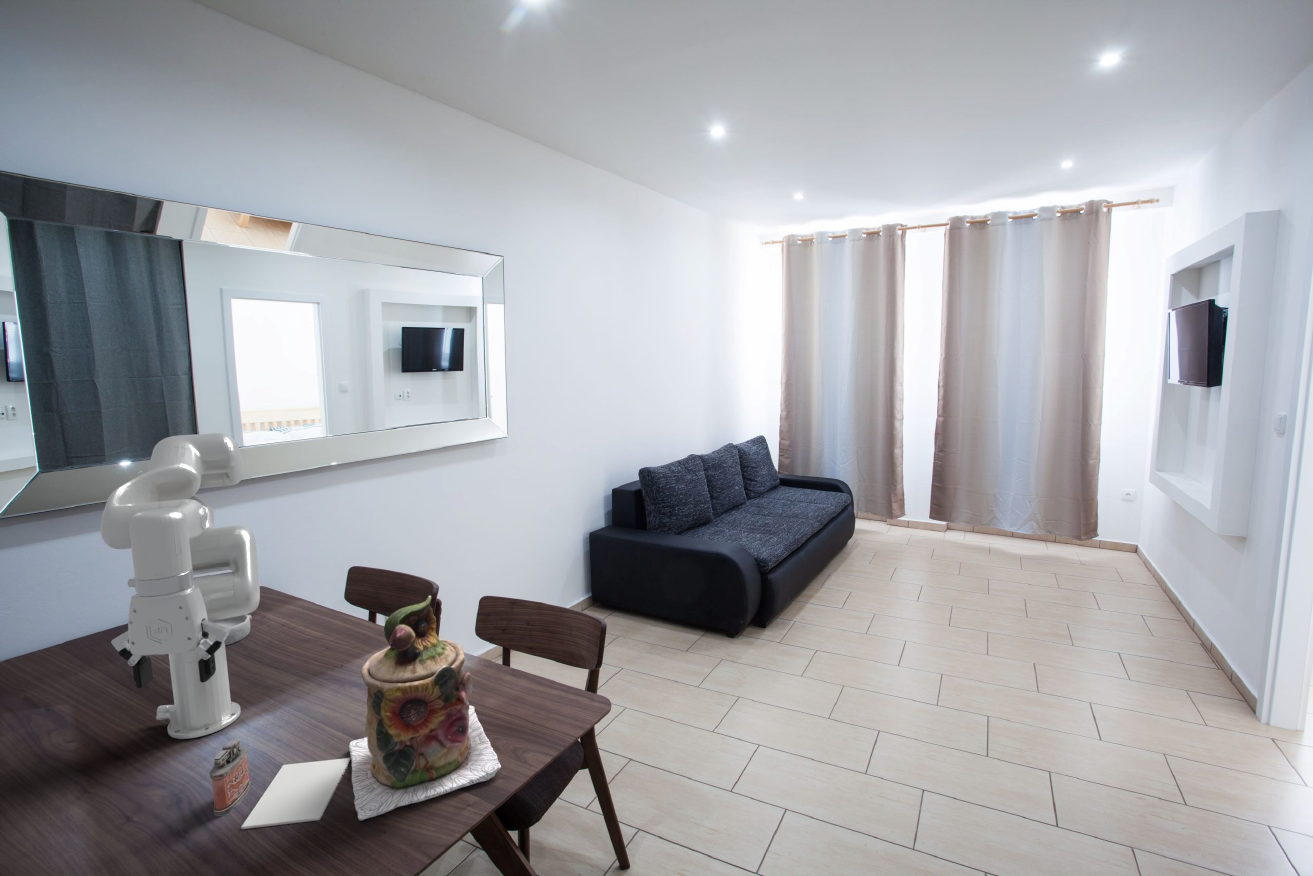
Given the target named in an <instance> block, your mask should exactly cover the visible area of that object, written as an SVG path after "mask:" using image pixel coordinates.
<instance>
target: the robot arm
mask: <svg viewBox="0 0 1313 876" xmlns="http://www.w3.org/2000/svg"><path fill="white" fill-rule="evenodd" d="M240 450H241V449H240V447H239V444H238V443H237V441H236V440H235V439H234V438H233V437H232V436H230V435H229V434H227V433H223V432H222V433H221V432H217V433H216V432H215V433H214V432H213V433H200V434H199V433H197V434H180V435H172V436H168V437H165V438H163V439H161V440H160V441H158V442H157V443H156V444H155V446H154V447H153V450H152V453H151V455H150V456H151V457H150V460H149V462H148V463H147V466H146V472H144V473H142V474H139V475H138V476H136V477H134V478H133V479H130V480H129V481H126V482H125V483H122V484H121V485H119V486H118V487H117V488H116V489H114V490H113V491H112V492H111V493H110V495H109V496H108V498H107V499H106V500H107V501H106V504H105V506H104V509H103V511H102V516H101V520H100V534H101V538H102V540H103V543H104V544H106V545H107V547H109V548H112V549H116V550H129V549H131V556H132V566H133V572H134V578H129V579H128V581H127V586H128V588H135V589H134V590H135V593H136V594H134V595H132V596H131V598H130V604H129V610H128V619H127V620H128V621H127V622H128V623H127V624H128V625H127V628H128V629H127V631H125V632H123V633H121V634H120V635H118V636H117V637H115V638H112V640H111V641H110V643H111V645H112V646H113V648H114V649H115V650H116V651H117V652H118V655H119V656H120V657H121V658H123V659H124V660H126V661H127V664H128V665H129V667H130V666H131V667H132V671H133V679H134V682H135V685H136V688H137V689H142V688H144V687H145V686H146V685H147V684H149V683H150V682H151V681H153V678H154V676H153V666H152V660H151V658H150V656H161V655H162V656H163V655H168V660H169V670H170V678H171V686H172V693H173V694H172V695H173V701H174V702H173V704H164V705H159V706H158V707H157V709H156V717H155V718H156V719H155V720H156V721H162V720H163V721H164V720H169V721H170V722H169V723H168V726H167V733H168V734H167V735H168V736H170V737H171V738H174V739H178V740H186V739H187V740H188V739H195V738H199V737H203V736H204V737H205V736H208V735H210V734H213V733H215V732H218V731H221V730H222V729H225V728H226V727H228V726H230V725H231V724H232V723H234V722H235V721H236V720H237V719H238V718H239V716H240V715H241V712H242V711H241V706H240V704H239V703H237V702H236V701H235V702H234V701H231V700H232V699H231V692H230V691H231V690H230V689H231V688H230V680H229V671H228V662H227V660H228V659H227V654H226V645H225V639H226V638H227V636H228V633H229V631H230V630H229V629H228V628H226V627H223V626H221V625H218V624H215V623H213V622H211V621H215V620H220V619H226V618H231V617H236V616H241V615H245V614H246V615H250V614H251V613H253V612H255V611H256V610H257V608H258V606H259V604H260V599H261V595H260V594H261V589H260V587H261V586H260V576H259V575H260V574H259V565H258V564H259V563H258V551H257V550H258V549H257V546H256V545H257V544H256V539H255V536H254V534H253V532H252V530H251V529H250V528H249V527H247V526H245V525H229V526H220V527H215V512H214V509H213V508H212V506H210V505H209V504H208V503H207V502H206V501H205V500H203V499H202V498H201V497H199V496H198V495H196V493H198V491H199V489H210V488H218V487H219V488H220V487H228V486H234V485H237V484H239V483H240V482H241V481H242V480H243V477H244V475H245V462H244V459H243V455H242V453H241V451H240ZM223 571H228V572H223ZM215 572H216V574H211V573H215ZM217 572H222V573H217ZM204 574H208V575H204ZM195 575H196V576H195ZM197 575H198V576H197ZM199 575H201V576H199Z"/></svg>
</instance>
